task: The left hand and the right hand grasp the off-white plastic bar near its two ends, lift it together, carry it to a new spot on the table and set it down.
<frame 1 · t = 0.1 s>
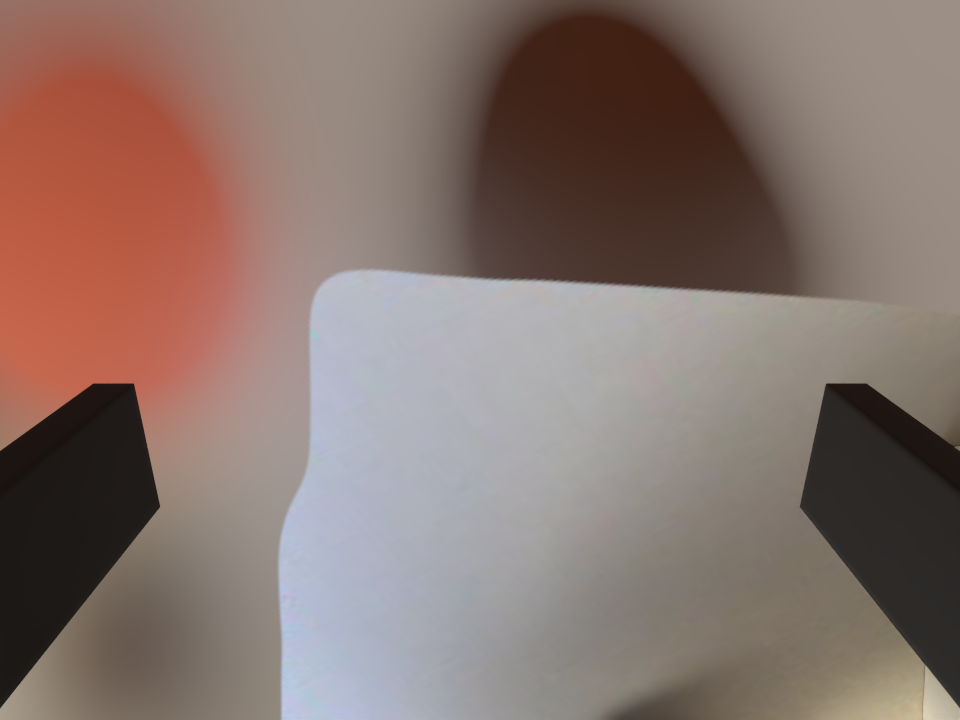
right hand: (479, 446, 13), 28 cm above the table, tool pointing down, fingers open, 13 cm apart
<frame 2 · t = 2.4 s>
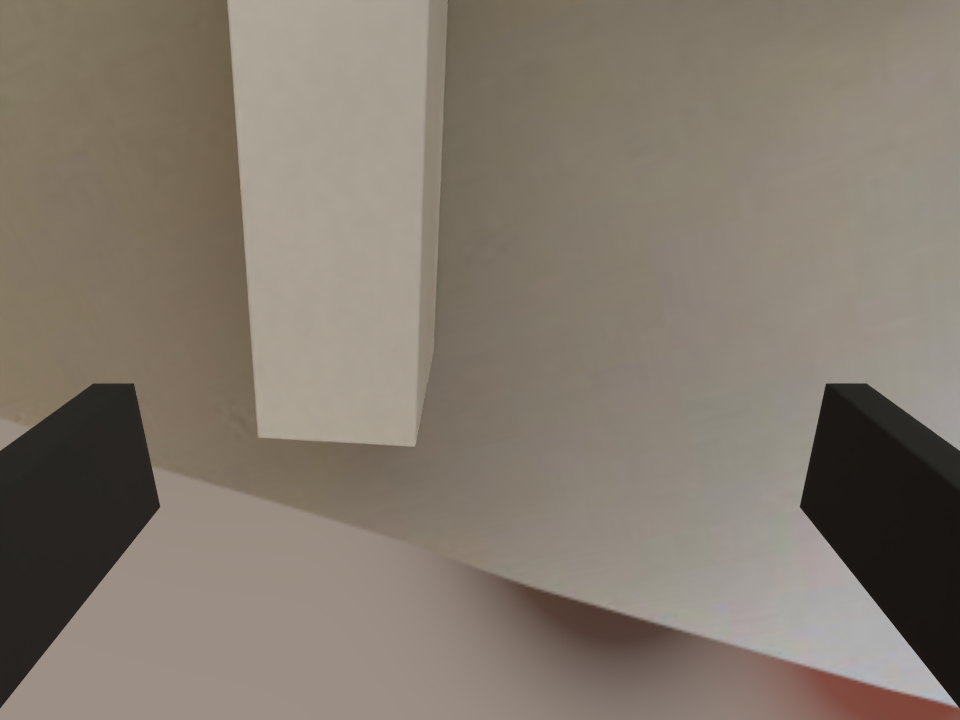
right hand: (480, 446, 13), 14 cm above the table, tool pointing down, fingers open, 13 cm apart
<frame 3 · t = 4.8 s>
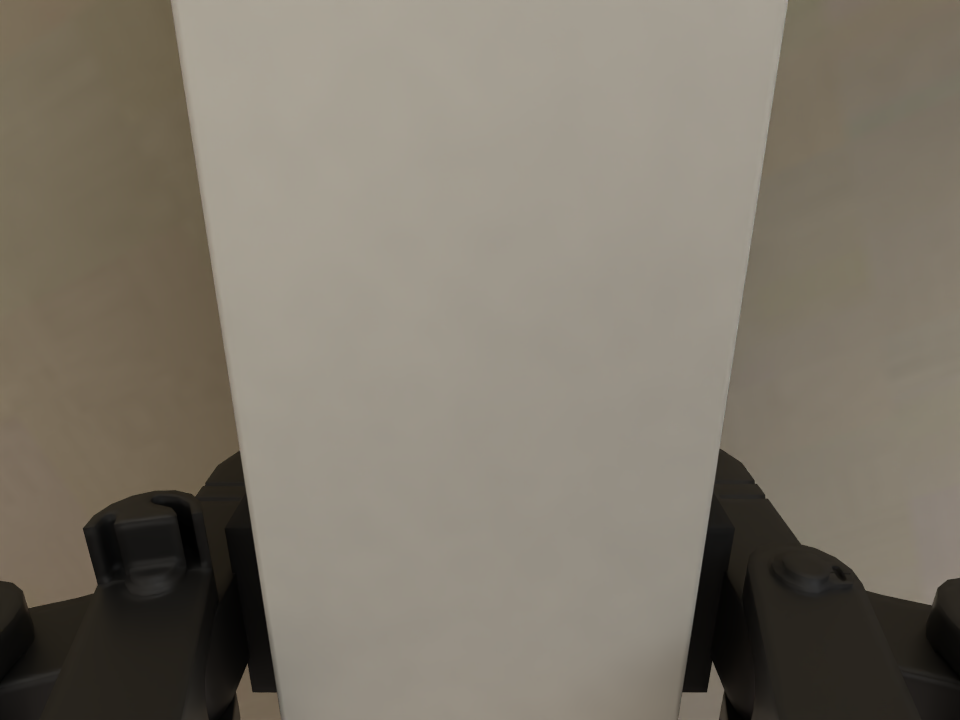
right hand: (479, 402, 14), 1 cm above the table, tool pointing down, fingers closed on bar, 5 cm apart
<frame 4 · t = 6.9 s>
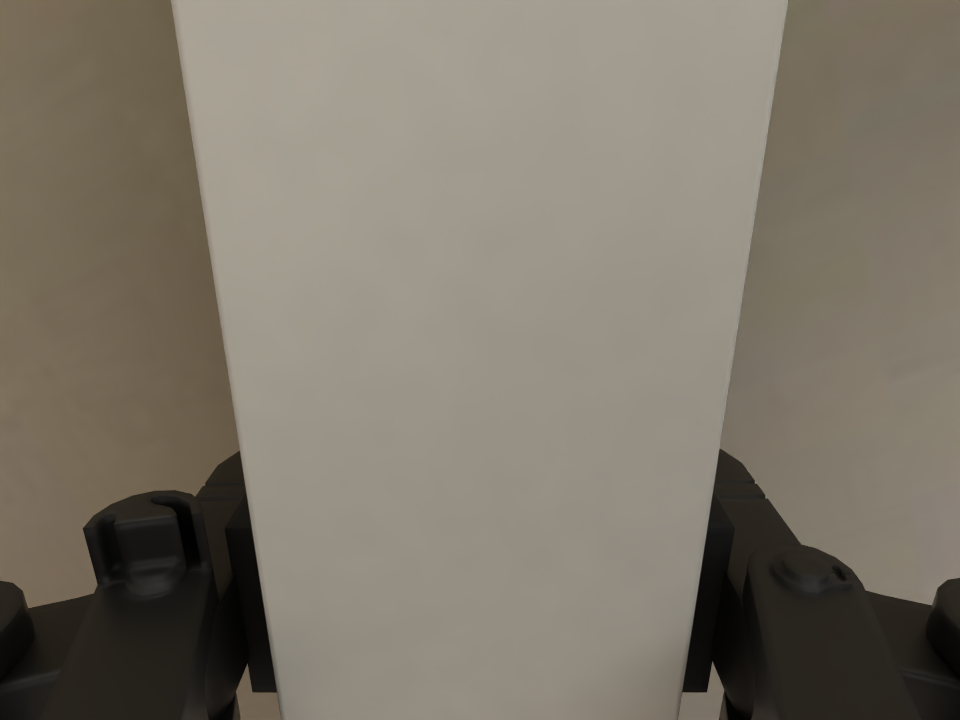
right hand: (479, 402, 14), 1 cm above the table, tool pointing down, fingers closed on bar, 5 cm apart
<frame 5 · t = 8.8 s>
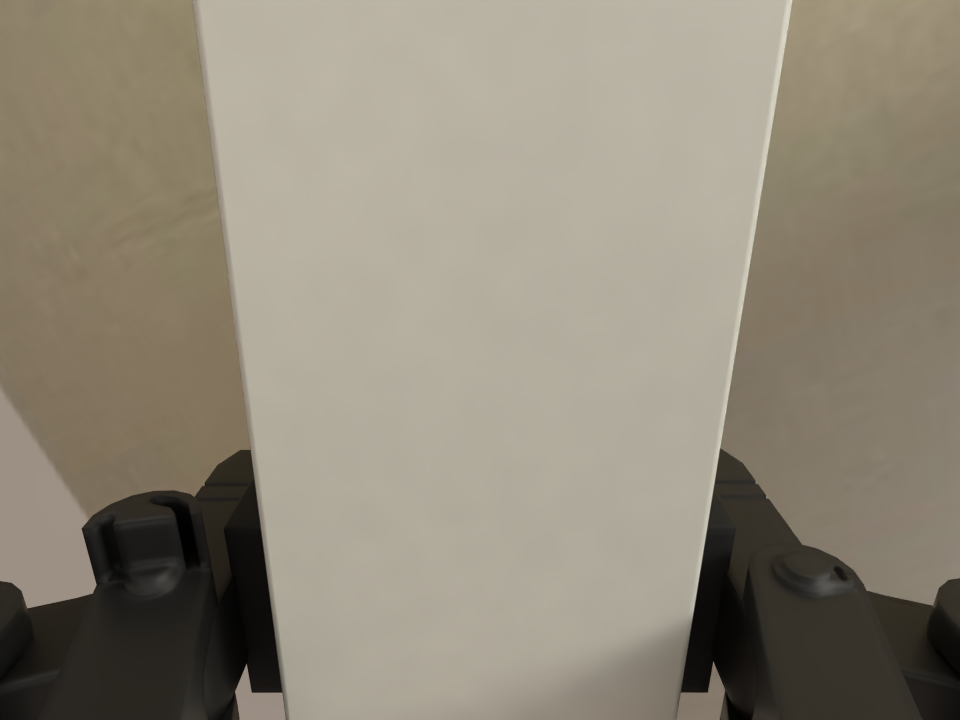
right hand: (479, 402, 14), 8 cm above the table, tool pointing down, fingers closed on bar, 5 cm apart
when the right hand's fingers open (2 cm above the table, at t = 10.5 s): bar drops 2 cm, on the table.
when the left hand's fingers open (5 cm above the table, at t = 10.7 s): bar stays where it is, on the table.
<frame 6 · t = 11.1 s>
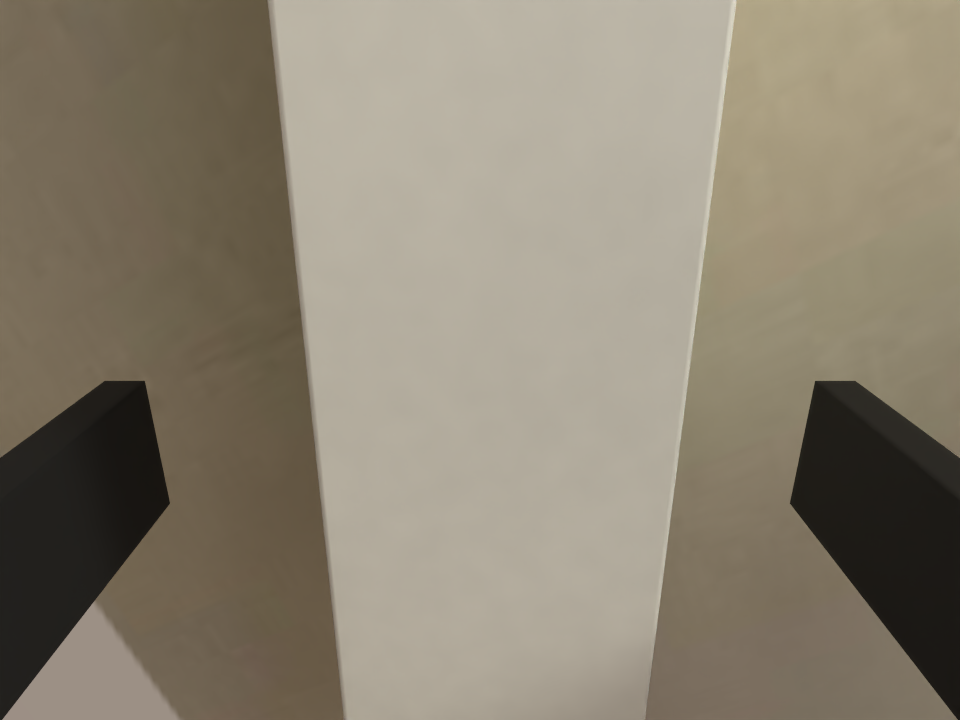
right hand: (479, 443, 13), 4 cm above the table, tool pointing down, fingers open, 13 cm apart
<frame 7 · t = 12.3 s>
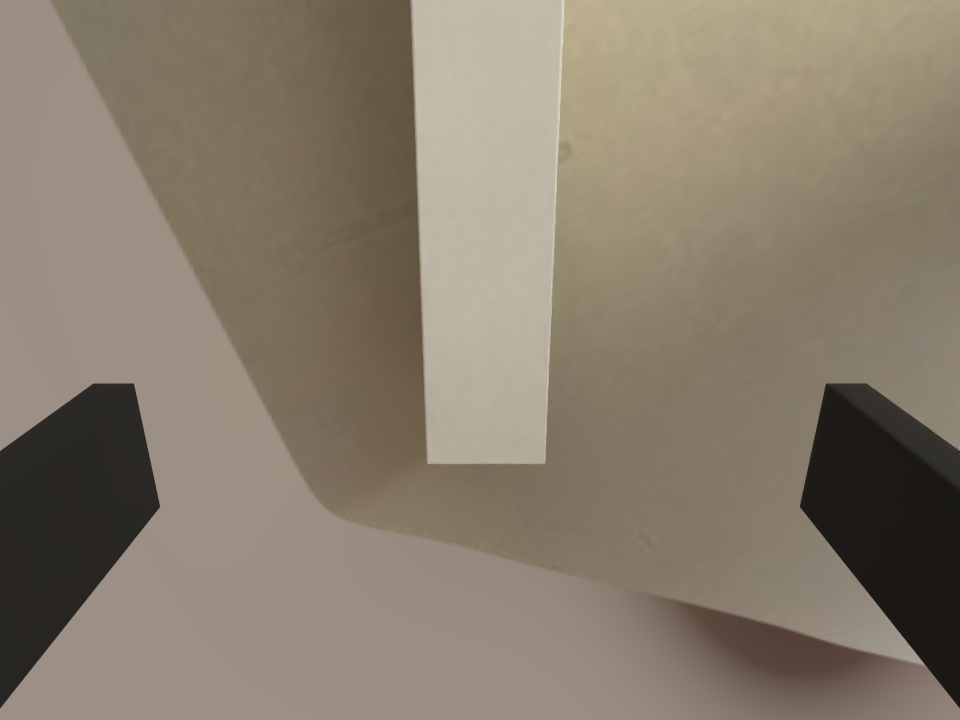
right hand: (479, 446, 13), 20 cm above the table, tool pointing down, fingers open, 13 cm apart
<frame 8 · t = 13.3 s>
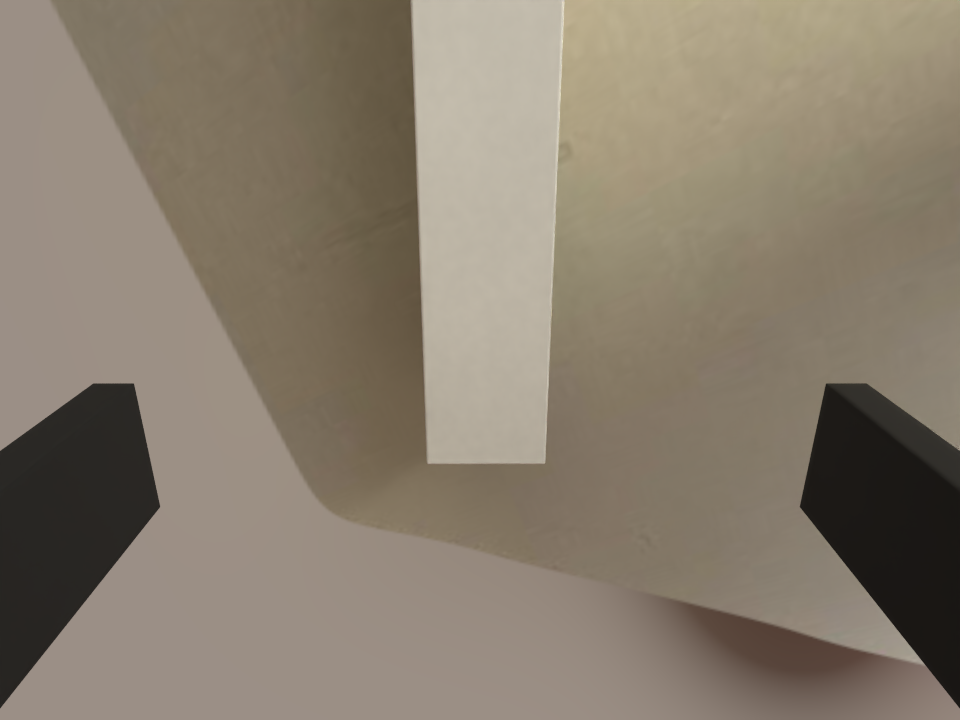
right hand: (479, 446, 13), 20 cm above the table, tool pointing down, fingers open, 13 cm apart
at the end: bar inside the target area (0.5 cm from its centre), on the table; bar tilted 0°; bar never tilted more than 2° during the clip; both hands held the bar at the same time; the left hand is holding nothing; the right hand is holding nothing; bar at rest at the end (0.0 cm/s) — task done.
